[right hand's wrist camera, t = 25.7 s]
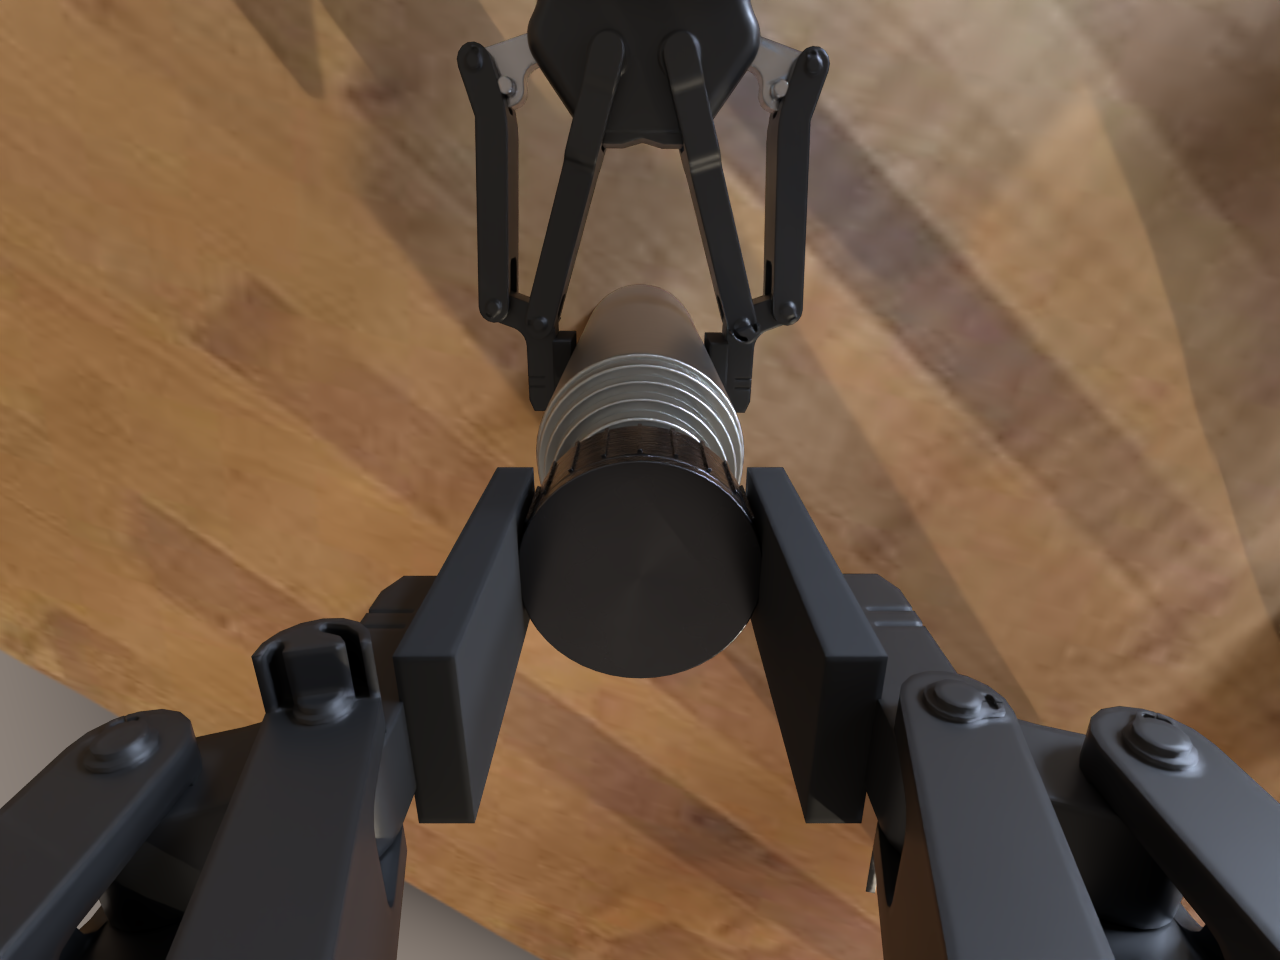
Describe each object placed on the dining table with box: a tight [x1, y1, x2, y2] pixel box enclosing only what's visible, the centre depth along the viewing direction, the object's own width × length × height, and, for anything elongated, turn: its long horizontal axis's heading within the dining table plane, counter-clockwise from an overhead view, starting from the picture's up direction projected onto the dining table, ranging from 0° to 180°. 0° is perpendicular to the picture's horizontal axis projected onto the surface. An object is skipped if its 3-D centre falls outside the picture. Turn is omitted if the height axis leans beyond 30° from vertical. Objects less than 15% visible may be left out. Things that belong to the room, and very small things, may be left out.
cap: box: [518, 424, 762, 678], centre depth 14 cm, size 5×5×2 cm
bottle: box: [536, 284, 744, 485], centre depth 24 cm, size 6×6×24 cm
